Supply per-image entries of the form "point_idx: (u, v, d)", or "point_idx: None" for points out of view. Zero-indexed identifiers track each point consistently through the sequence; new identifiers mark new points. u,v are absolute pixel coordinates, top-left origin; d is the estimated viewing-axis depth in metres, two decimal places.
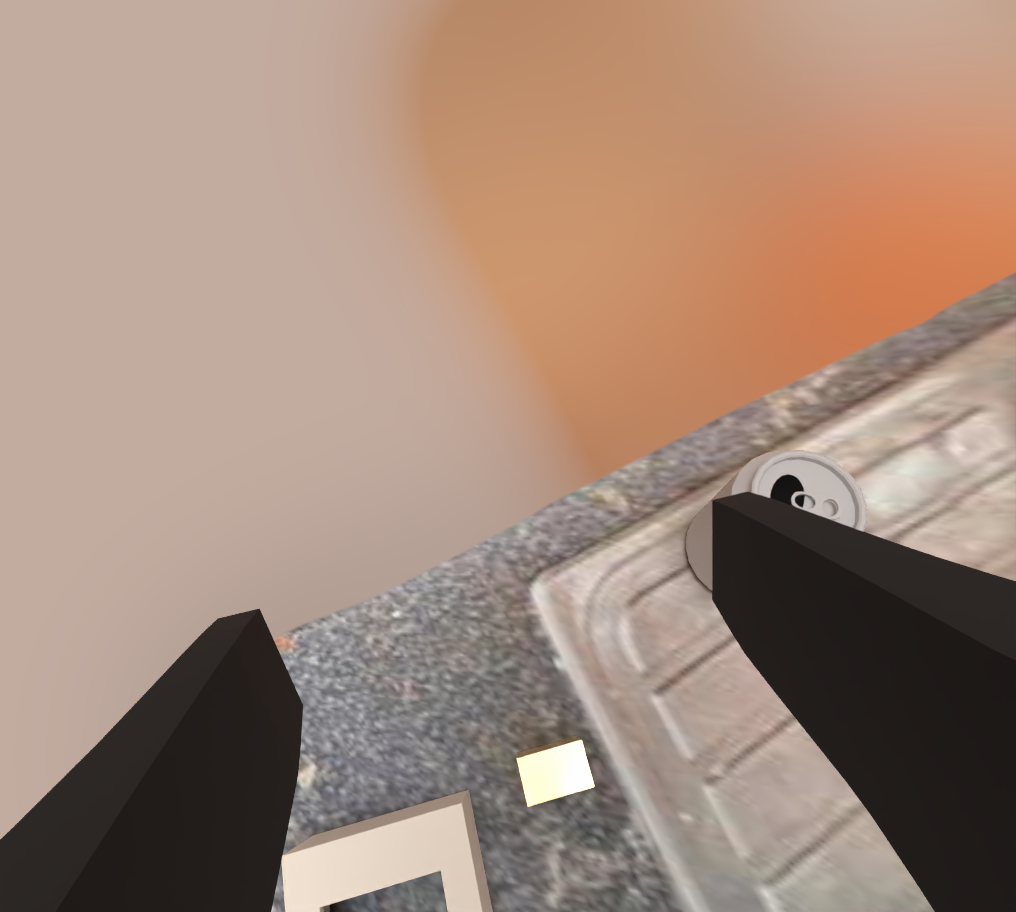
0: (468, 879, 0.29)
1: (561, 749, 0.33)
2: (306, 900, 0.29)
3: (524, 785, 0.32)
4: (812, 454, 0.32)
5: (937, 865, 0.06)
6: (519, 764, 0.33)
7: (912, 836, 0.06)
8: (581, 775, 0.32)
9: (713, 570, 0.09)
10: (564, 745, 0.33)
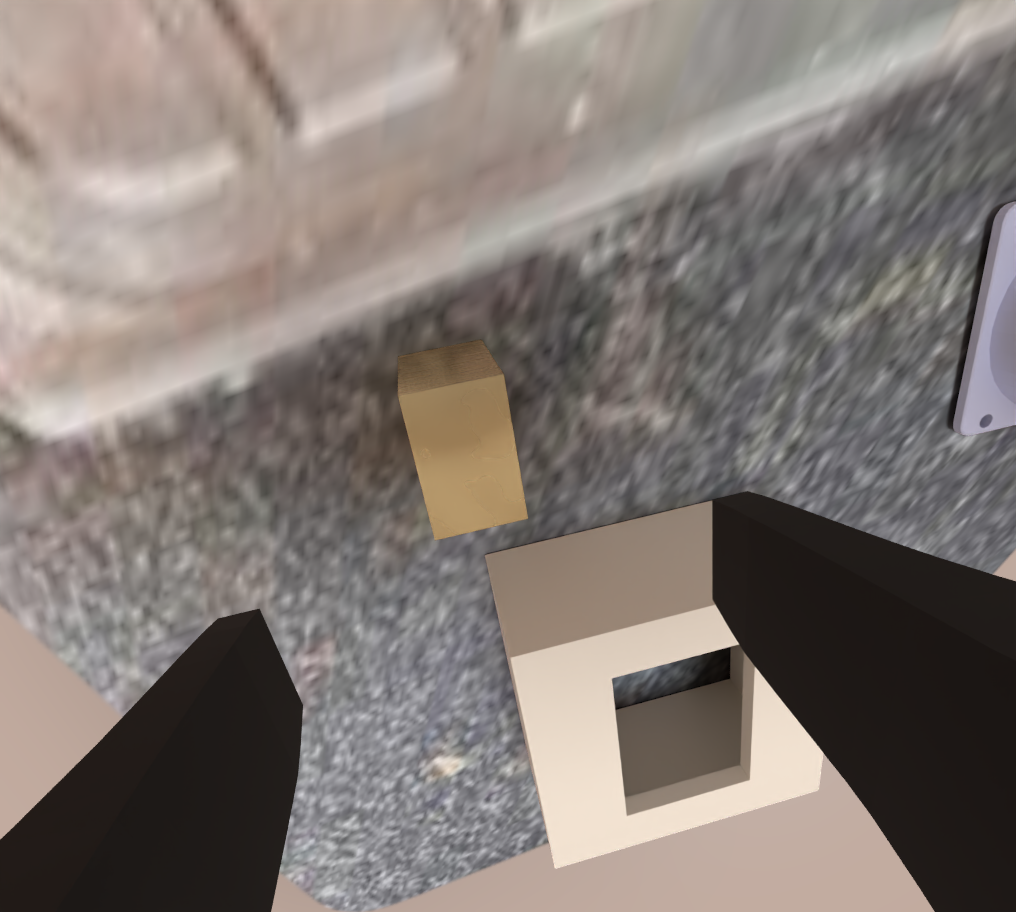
0: (633, 636, 0.16)
1: (418, 444, 0.13)
2: (614, 830, 0.19)
3: (488, 525, 0.15)
4: None
5: (937, 865, 0.06)
6: (446, 534, 0.14)
7: (912, 836, 0.06)
8: (478, 403, 0.13)
9: (712, 570, 0.09)
10: (410, 437, 0.13)
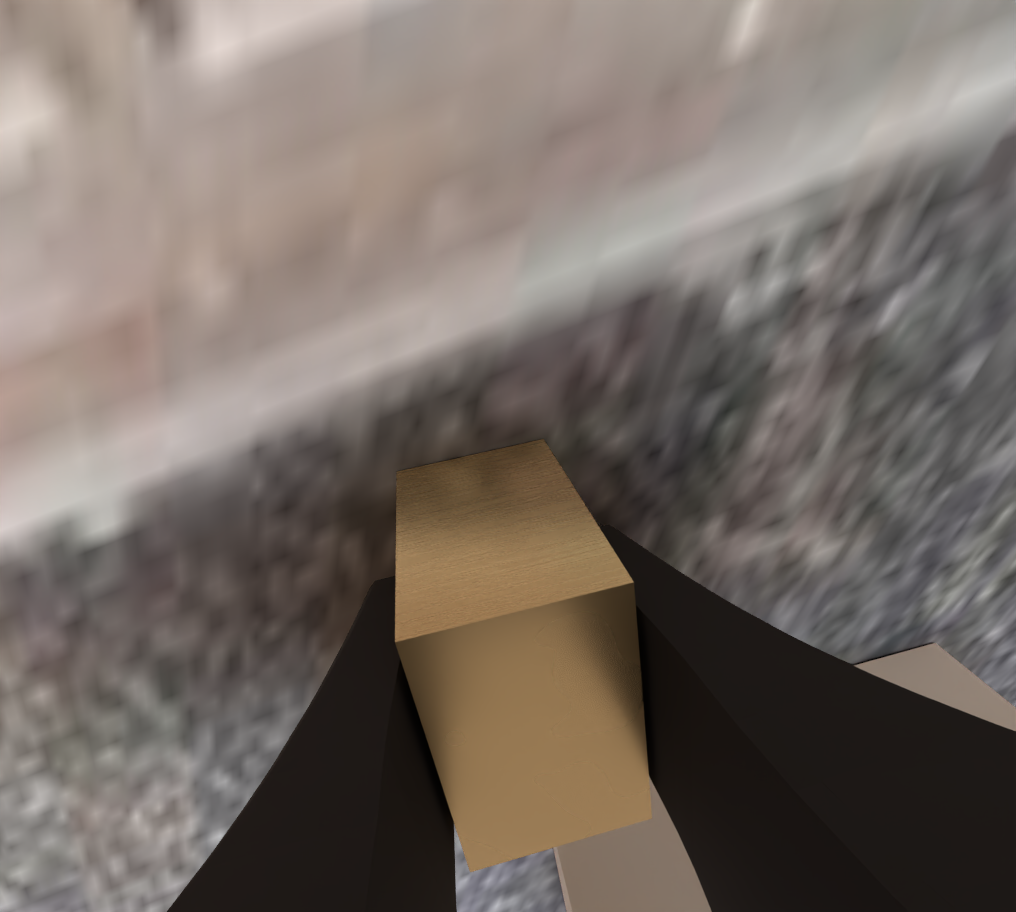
0: None
1: (440, 725, 0.06)
2: None
3: (575, 838, 0.07)
4: None
5: None
6: (494, 861, 0.07)
7: (717, 897, 0.06)
8: (573, 641, 0.06)
9: None
10: (422, 712, 0.06)
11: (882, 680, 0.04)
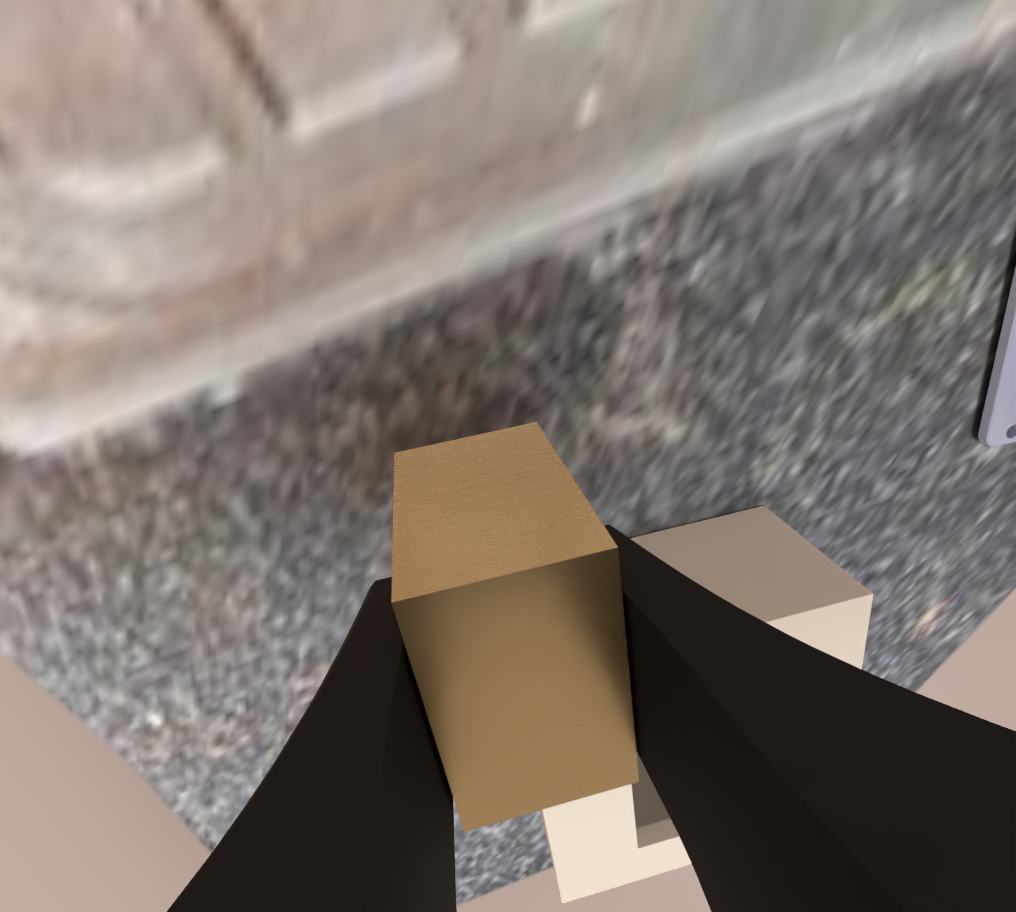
0: None
1: (434, 685, 0.06)
2: (625, 863, 0.18)
3: (565, 800, 0.08)
4: None
5: None
6: (487, 822, 0.08)
7: (717, 897, 0.06)
8: (561, 603, 0.06)
9: None
10: (418, 672, 0.06)
11: (882, 680, 0.04)
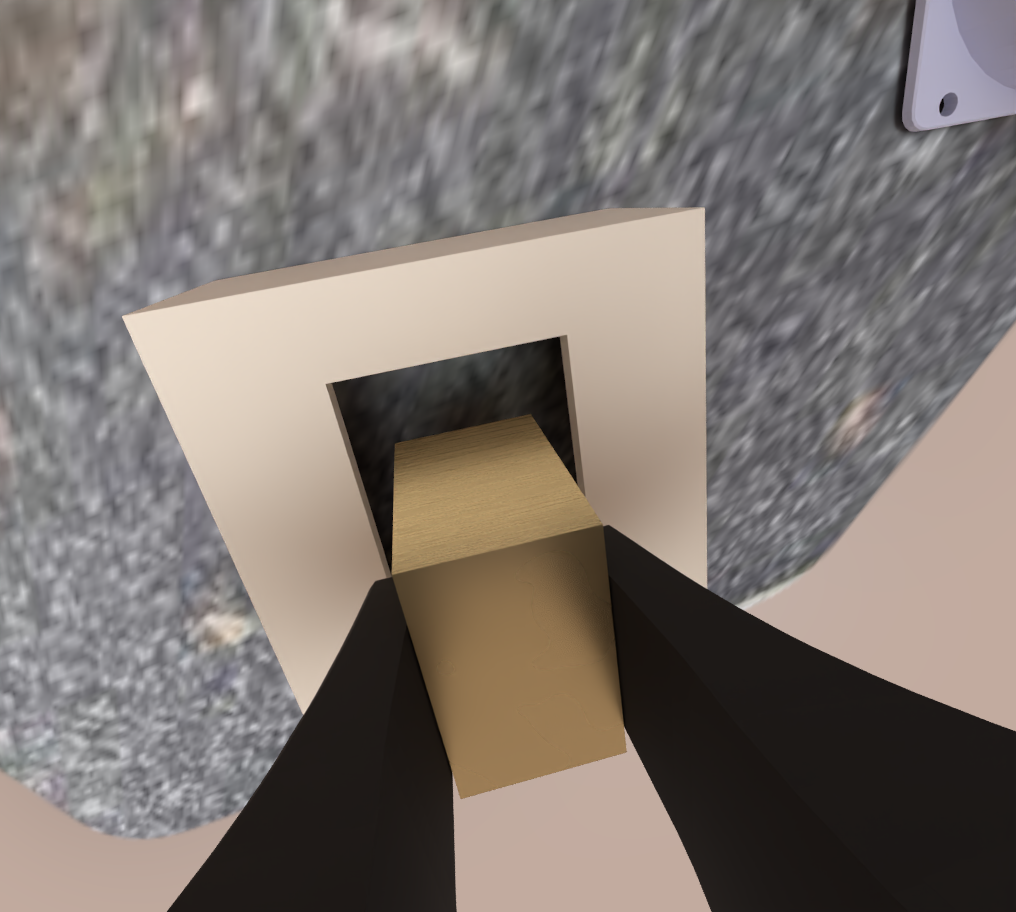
0: (345, 299, 0.09)
1: (431, 655, 0.07)
2: None
3: (556, 769, 0.08)
4: None
5: None
6: (482, 789, 0.08)
7: (717, 897, 0.06)
8: (550, 578, 0.07)
9: None
10: (416, 642, 0.07)
11: (881, 680, 0.04)
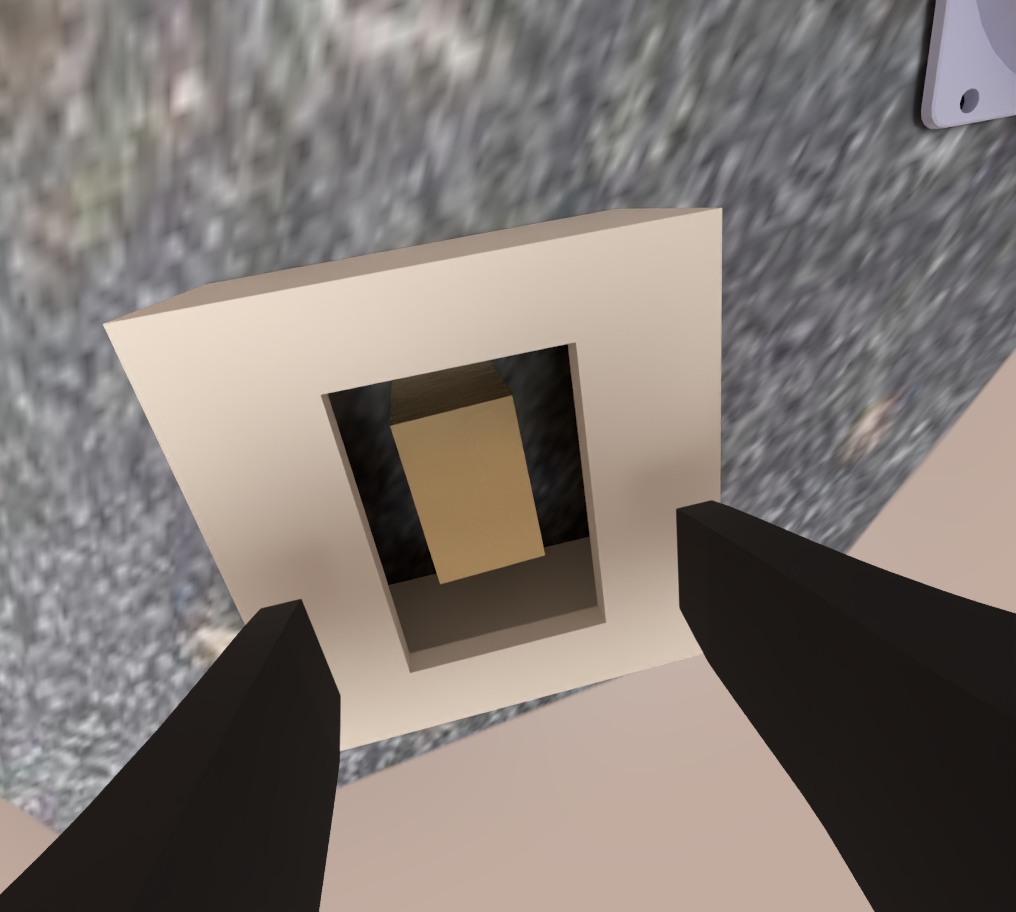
0: (341, 305, 0.09)
1: (416, 479, 0.12)
2: (396, 698, 0.12)
3: (500, 565, 0.13)
4: None
5: (884, 882, 0.06)
6: (453, 577, 0.13)
7: (862, 852, 0.06)
8: (484, 429, 0.11)
9: (678, 579, 0.09)
10: (406, 471, 0.11)
11: None
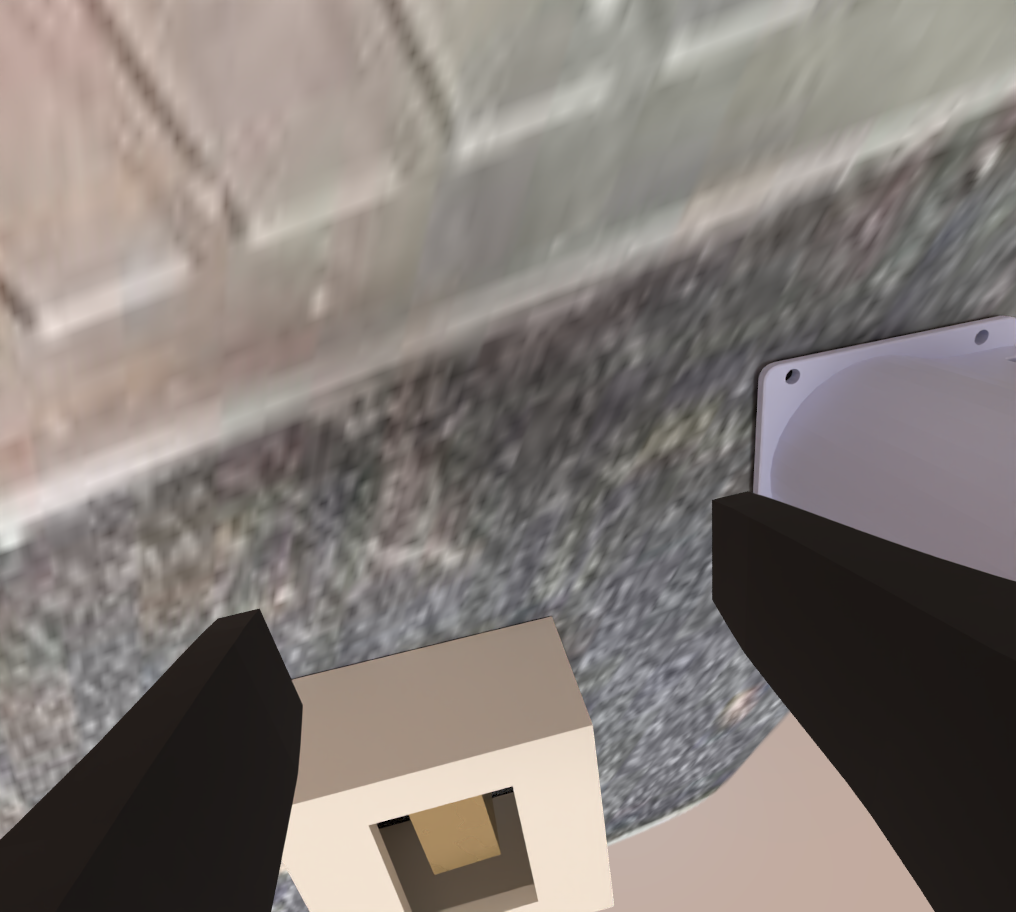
0: (382, 790, 0.16)
1: (420, 828, 0.19)
2: None
3: (472, 862, 0.20)
4: None
5: (937, 865, 0.06)
6: (442, 871, 0.20)
7: (912, 836, 0.06)
8: (461, 802, 0.19)
9: (713, 570, 0.09)
10: (414, 824, 0.19)
11: None
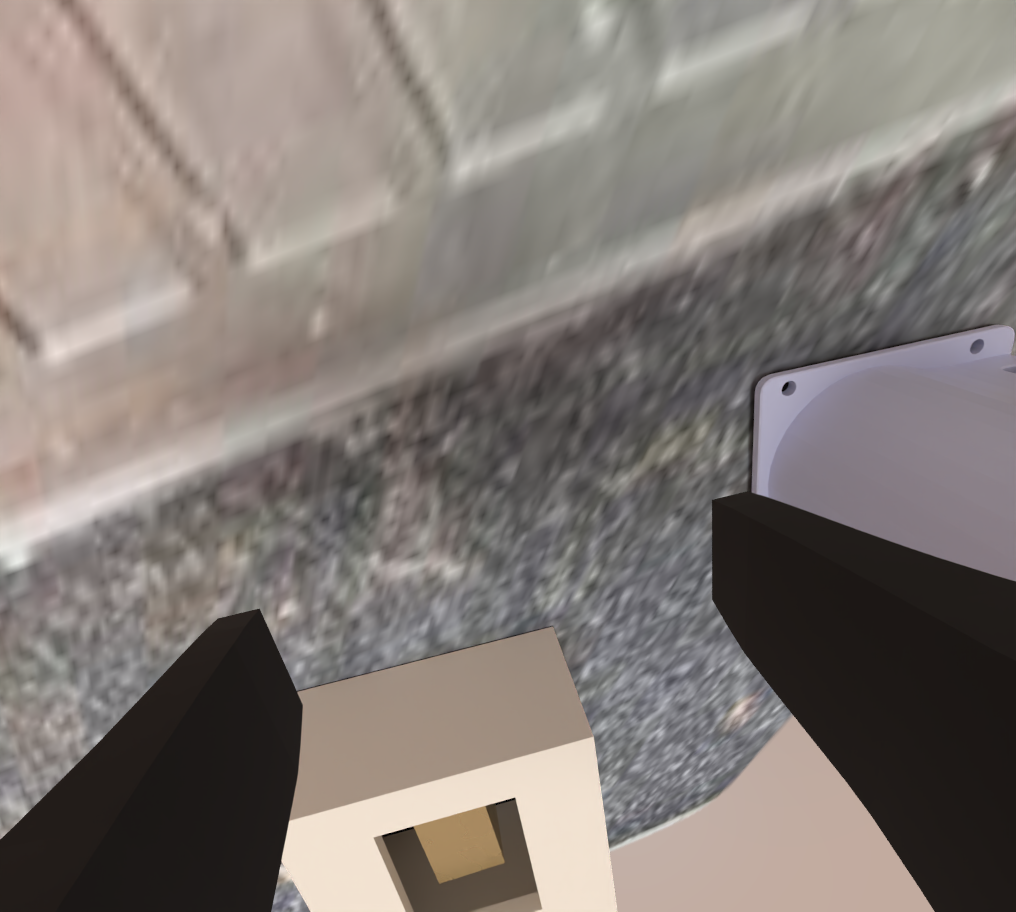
0: (386, 803, 0.17)
1: (424, 838, 0.19)
2: None
3: (476, 871, 0.20)
4: None
5: (937, 865, 0.06)
6: (447, 880, 0.20)
7: (912, 836, 0.06)
8: (465, 812, 0.19)
9: (713, 570, 0.09)
10: (419, 835, 0.19)
11: None
